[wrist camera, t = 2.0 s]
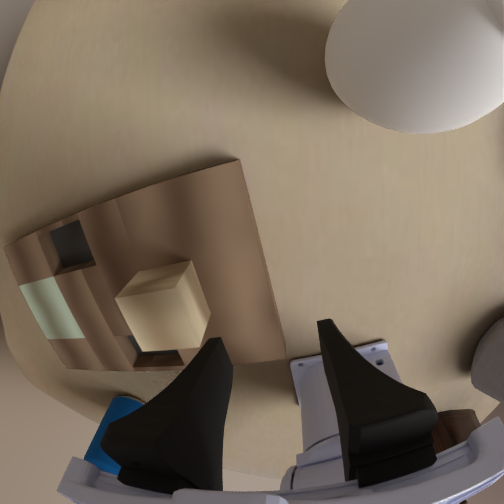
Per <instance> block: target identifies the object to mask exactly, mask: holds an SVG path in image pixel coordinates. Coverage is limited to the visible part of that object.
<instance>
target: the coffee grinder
mask: <svg viewBox="0 0 504 504" xmlns="http://www.w3.org/2000/svg"><path fill="white" fill-rule="evenodd" d="M480 426H481V425H480V423H479V421H478V419H477V417H476V414H475V411H473V410H450V411H444V412H440V413H438V420H437V422H436V425H435V427H434V429H433V431H432V433H431V434H432V437H433V439H434V443H433V444H432V445H433V448H434V451H435V453H436V454H438V453H440V452H443V451H445V450H447V449H449V448H452V447H454V446H456V445H458V444H460V443H462V442H464V441H466V440H468V437H469V436H470V434H471V433H472V432H473V431H474V430H475V429H477V428H478V427H480ZM460 504H467V501H466V499H465V500H463V501H462V502H460Z"/></svg>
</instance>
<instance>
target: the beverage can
mask: <svg viewBox="0 0 504 504" xmlns="http://www.w3.org/2000/svg"><path fill="white" fill-rule="evenodd" d="M144 404H146V403H144V402H143V401H141V400H139V399H137V398H134V397H131V396H118V397H115V398H113V400H112V402H111V404H110V406H109V408H108V409H107V411H106V413H105V415H104V417H103V419H102V421H101V423H100V425H99V428H98V430H97V432H96V434H95V436H94V438H93V440H92V442H91V444H90V446H89V449H88V450H87V452H86V455H85V457H84V460H86V461H88V462H90V463H92V464H93V465H95V466H96V467H97V468H98V469H99V470H101V471H104V472H108V473H111V474H115V475H118V474H119V471H120V469H121V466H120V465H119V464H117V463H116V462H115V461H114V460H113V459H111V458H110V457H109V456H108V455H107V454H106V453H105V452H104V451H103V450H102V448H101V446H100V442H101V439H102V437H103V435H104V433H105V431H106V429H107V427H108V425H109V423H111V422H113V421H115V420H117V419H119V418H122V417H124V416H126V415H128V414H130V413H131V412H133V411H135V410H137V409H138V408H140V407H141V406H143V405H144Z"/></svg>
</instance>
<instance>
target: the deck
mask: <svg viewBox="0 0 504 504" xmlns="http://www.w3.org/2000/svg"><path fill="white" fill-rule="evenodd" d="M3 249H4V251H5V254H6V257H7V259H8V262H9V264H10V266H11V269H12V271H13V274H14V276H15V278H16V280H17V283H18V285H19V287H20V289H21V291H22V293H23V295H24V297H25V299H26V301H27V303H28V305H29V307H30V309H31V311H32V313H33V315H34V316H35V318H36V320H37V322H38V324H39V325H40V327H41V329H42V331H43V332H44V334H45V336H46V337H47V339H48V341H49V342H50V344H51V345H52V347H53V349H54V350H55V352H56V353H57V355H58V356H59V358H60V359H61V361H62V362H63V364H64V365H65V367H66V368H68V369H82V370H104V371H162V370H184V369H185V368H186V366H187V365H188V364H189V363H190V362H191V360H192V359H193V358H194V357H195V355H196V354H197V353H198V352H199V350H200V349H201V348H202V347H203V345H204V344H205V343H206V341H207V340H208V339H209V338H215V337H221V338H222V341H223V343H224V346H225V348H226V351H227V353H228V356H229V358H230V360H231V363H232V365H233V366H234V365H243V364H251V363H259V362H266V361H273V360H280V359H286V346H285V340H284V335H283V331H282V327H281V323H280V319H279V315H278V310H277V306H276V302H275V298H274V294H273V290H272V286H271V282H270V278H269V274H268V269H267V265H266V261H265V257H264V253H263V249H262V245H261V241H260V237H259V233H258V229H257V225H256V221H255V217H254V213H253V209H252V205H251V201H250V198H249V194H248V190H247V186H246V182H245V178H244V174H243V170H242V166H241V162H240V159H238V160H234V161H230V162H227V163H223V164H219V165H215V166H212V167H208V168H204V169H201V170H197V171H194V172H190V173H187V174H184V175H180V176H177V177H174V178H171V179H167V180H164V181H161V182H158V183H155V184H152V185H149V186H146V187H143V188H140V189H137V190H134V191H132V192H129V193H126V194H123V195H121V196H118V197H115V198H112V199H110V200H107V201H105V202H102V203H99V204H97V205H94V206H92V207H89V208H87V209H84V210H82V211H79V212H77V213H75V214H72V215H70V216H68V217H65V218H63V219H61V220H58V221H56V222H54V223H52V224H50V225H47V226H45V227H43V228H41V229H39V230H37V231H35V232H32V233H30V234H28V235H26V236H24V237H22V238H20V239H18V240H16V241H14V242H13V243H11V244H9V245H7V246H6V247H4V248H3ZM190 260H192V263H193V265H194V268H195V271H196V274H197V277H198V280H199V282H200V285H201V288H202V291H203V293H204V296H205V299H206V302H207V304H208V307H209V310H210V312H211V314H210V317H209V320H208V323H207V326H206V329H205V332H204V336H203V339H202V342H201V345H200V347H197V348H187V349H175V350H161V351H145V352H143V351H142V350H141V348H140V346H139V344H138V343H137V341H136V339H135V337H134V335H133V333H132V332H131V330H130V328H129V326H128V324H127V322H126V320H125V318H124V316H123V314H122V312H121V310H120V308H119V306H118V304H117V302H116V300H115V297H116V296H117V295H118V294H119V293H120V292H121V291H122V289H123V288H124V287H125V286H126V285H127V284H128V283H129V281H130V280H131V279H132V278H133V277H134V276H135V275H136V274H137V273H138V271H143V270H148V269H152V268H157V267H162V266H167V265H171V264H176V263H181V262H186V261H190Z"/></svg>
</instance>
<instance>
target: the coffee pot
mask: <svg viewBox="0 0 504 504" xmlns="http://www.w3.org/2000/svg"><path fill="white" fill-rule="evenodd" d="M471 382H472V384H473V386H474V387H475V388H476V389H478V390H480V391H481V392H483V393H485V394H487V395H489V396H491V397H492V398H494V399H496V400H498V401H500V402H501V403H503V404H504V317H503V318H501V319H500V320H498V321H497V322H496V323H495V324H493V325H492V326H491V327H490V329H489V330H488V331H487V332H486V333H485V335H484V336H483V337H482V339H481V340H480V342H479V344H478V346H477V348H476V350H475V354H474V359H473V363H472V367H471Z"/></svg>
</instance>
